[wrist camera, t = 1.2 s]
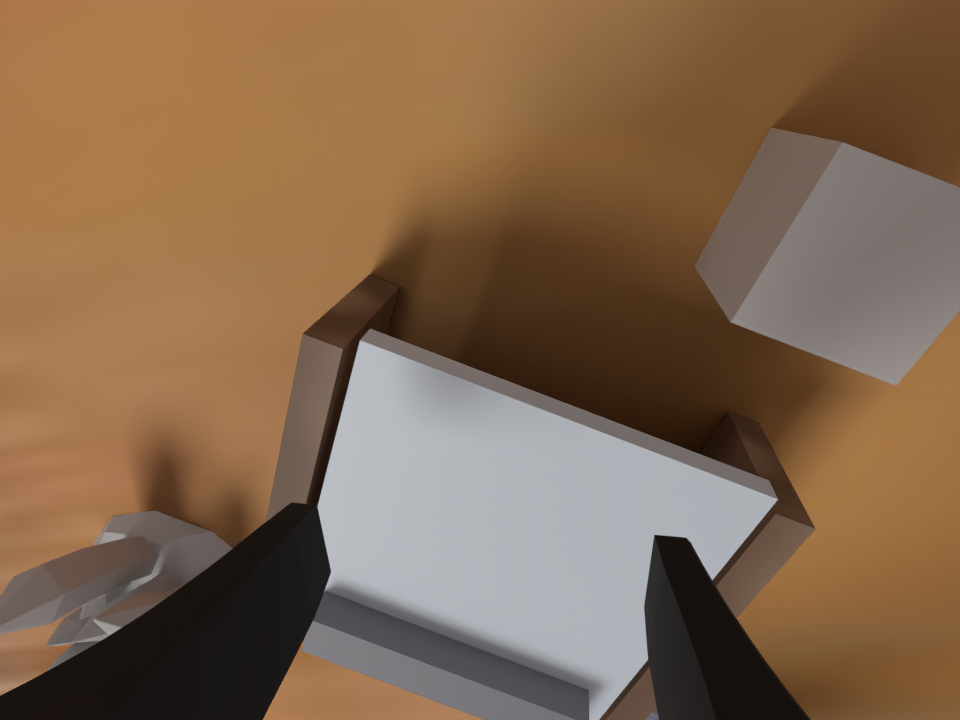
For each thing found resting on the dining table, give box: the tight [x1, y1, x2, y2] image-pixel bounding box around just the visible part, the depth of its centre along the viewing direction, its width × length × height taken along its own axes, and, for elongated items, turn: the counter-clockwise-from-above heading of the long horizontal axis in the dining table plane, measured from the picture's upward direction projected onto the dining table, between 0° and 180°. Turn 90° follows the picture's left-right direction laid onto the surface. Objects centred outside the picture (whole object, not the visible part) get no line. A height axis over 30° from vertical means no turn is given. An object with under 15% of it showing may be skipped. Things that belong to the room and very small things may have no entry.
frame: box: [266, 275, 815, 720], centre depth 21 cm, size 15×12×6 cm
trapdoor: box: [302, 329, 778, 720], centre depth 17 cm, size 12×12×2 cm
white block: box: [694, 128, 960, 386], centre depth 15 cm, size 4×4×5 cm
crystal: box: [0, 511, 233, 670], centre depth 23 cm, size 10×13×15 cm
